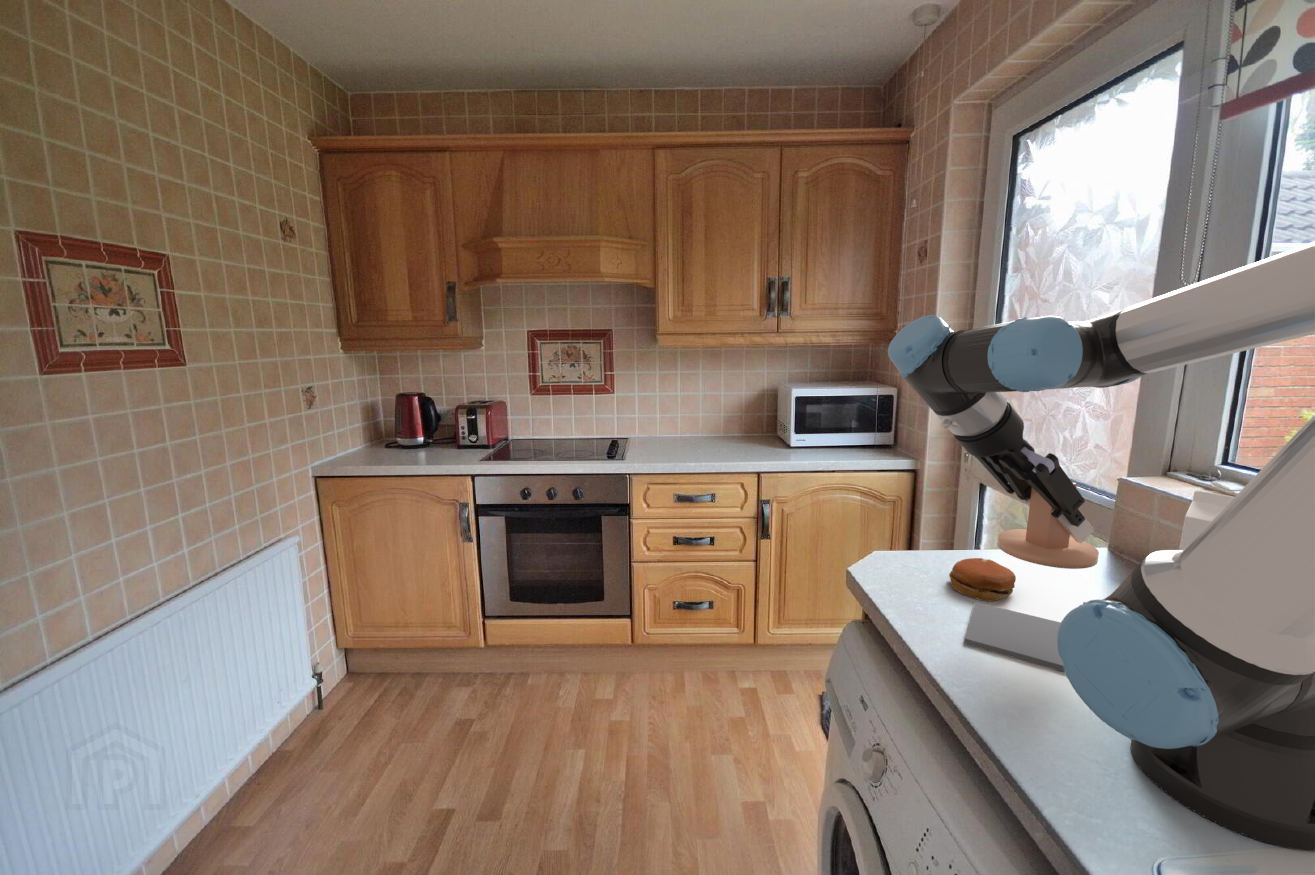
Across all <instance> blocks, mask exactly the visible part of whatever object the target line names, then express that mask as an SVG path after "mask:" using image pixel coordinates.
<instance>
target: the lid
mask: <svg viewBox="0 0 1315 875" xmlns="http://www.w3.org/2000/svg"><path fill="white" fill-rule="evenodd" d="M1072 483H1073V484H1074V486H1075V487H1076V488H1077V485H1078V484H1077V483H1076V482H1072ZM1053 510H1054V509H1053V508H1052V507H1051V506H1050V505H1049V504H1048V503H1047V502H1046V501H1045V500H1044V499H1043V498H1042V497H1041V496H1040V495H1039V494H1038V493H1037V492H1036V491H1035V490H1034V489H1033V488H1032V490H1031V499H1030V507H1029V506H1028V517H1027V525H1026V528H1016V529H1015V528H1014V529H1008V530H1004V531H1001V532H1000V533H999V534H997V548H999V549H1000V551H1002V552H1003V553H1004V554H1007V555H1009V556H1011V557H1013V558H1015V559H1018V560H1022V561H1025V562H1028V563H1031V564H1036V565H1040V566H1044V567H1045V566H1046V567H1050V568H1056V569H1057V568H1058V569H1067V570H1069V569H1070V570H1076V569H1077V570H1079V569H1080V570H1081V569H1088V568H1093V567H1095V566H1096V565H1097V564H1098V560H1099V555H1100V554H1099V553H1100V552H1099V550H1098V549H1097V548H1096V547H1095V546H1093V544H1090V543H1089V542H1086V541H1085V540H1084V541H1083V542H1082V543H1081V544H1080V543H1078V542H1076V541H1075V540H1074V539H1073V537H1072V536H1071V535H1070V534H1069V533H1068V531H1067V530H1066V529H1065V528H1064V526H1063V525H1062V524H1061V523H1060V522H1059V520H1058V519H1057V518H1056V517H1054V516H1052V515H1051V513H1052V511H1053Z"/></svg>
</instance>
